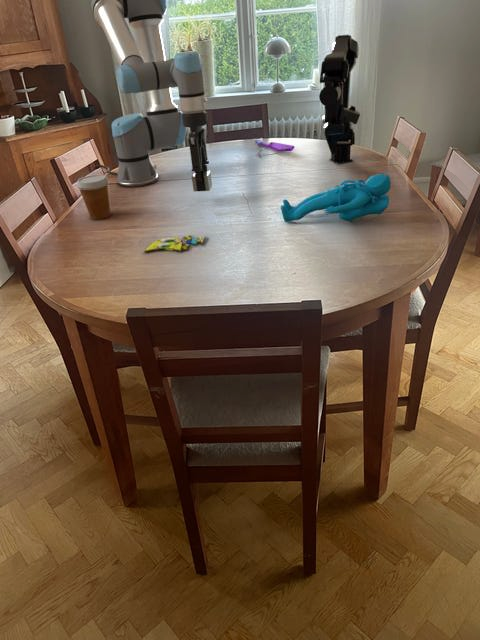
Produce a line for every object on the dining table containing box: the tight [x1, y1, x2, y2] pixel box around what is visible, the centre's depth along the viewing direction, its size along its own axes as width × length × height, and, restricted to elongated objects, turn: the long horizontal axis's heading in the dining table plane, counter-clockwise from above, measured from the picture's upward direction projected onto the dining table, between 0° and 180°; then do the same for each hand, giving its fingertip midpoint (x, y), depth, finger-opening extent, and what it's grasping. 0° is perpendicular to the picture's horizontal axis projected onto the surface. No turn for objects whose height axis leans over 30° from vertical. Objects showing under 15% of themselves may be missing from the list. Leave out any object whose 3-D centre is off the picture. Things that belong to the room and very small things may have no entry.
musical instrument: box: [254, 139, 295, 156], centre depth 208 cm, size 24×2×20 cm
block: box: [191, 170, 213, 192], centre depth 155 cm, size 5×5×5 cm
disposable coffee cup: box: [76, 174, 111, 220], centre depth 151 cm, size 10×10×12 cm
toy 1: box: [144, 234, 207, 254], centre depth 130 cm, size 10×1×15 cm
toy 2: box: [280, 173, 392, 223], centre depth 134 cm, size 17×11×30 cm
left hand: (203, 187), depth 156 cm, fingers closed on block, 5 cm apart
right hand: (332, 150), depth 163 cm, fingers open, 9 cm apart
